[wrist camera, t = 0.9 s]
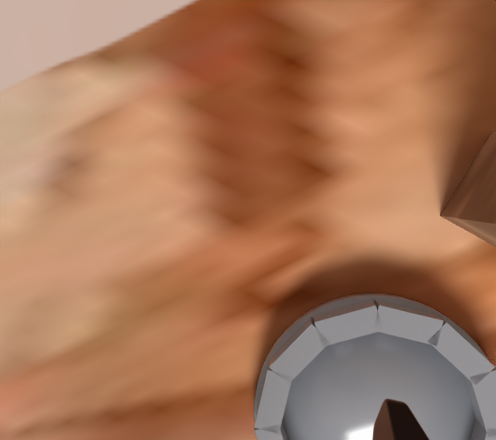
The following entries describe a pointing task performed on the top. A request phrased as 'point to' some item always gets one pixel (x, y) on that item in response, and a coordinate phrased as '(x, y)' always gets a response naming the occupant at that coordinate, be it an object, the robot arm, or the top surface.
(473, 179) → the walnut block
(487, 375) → the gray bowl
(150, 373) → the top surface
